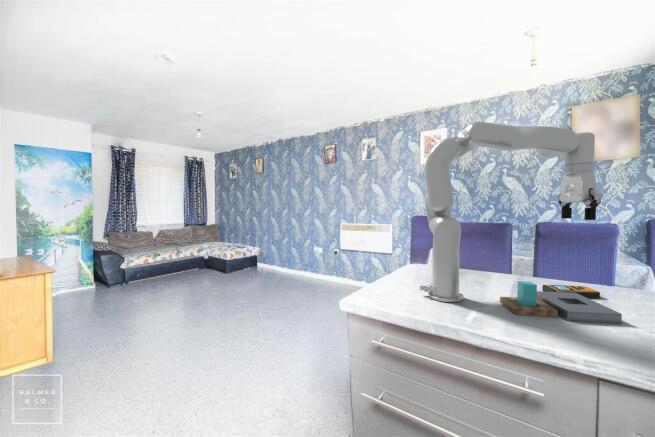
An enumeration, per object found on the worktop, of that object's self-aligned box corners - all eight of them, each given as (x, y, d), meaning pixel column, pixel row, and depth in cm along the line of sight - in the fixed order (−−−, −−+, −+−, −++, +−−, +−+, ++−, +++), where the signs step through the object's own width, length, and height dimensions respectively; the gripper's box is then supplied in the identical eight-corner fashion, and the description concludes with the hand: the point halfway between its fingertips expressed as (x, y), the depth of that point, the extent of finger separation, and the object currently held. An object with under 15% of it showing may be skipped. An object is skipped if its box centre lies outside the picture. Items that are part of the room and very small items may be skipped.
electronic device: (601, 300, 105) (602, 291, 104) (554, 298, 107) (554, 289, 107) (585, 293, 113) (585, 284, 113) (541, 291, 116) (541, 283, 116)
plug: (522, 310, 94) (523, 284, 94) (517, 306, 98) (517, 281, 98) (536, 311, 94) (536, 284, 93) (530, 307, 98) (530, 281, 97)
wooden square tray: (515, 314, 91) (515, 308, 91) (499, 302, 103) (499, 296, 103) (557, 316, 89) (557, 310, 89) (536, 303, 101) (536, 298, 101)
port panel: (567, 321, 86) (567, 311, 86) (532, 299, 105) (532, 291, 105) (621, 323, 83) (621, 313, 83) (575, 300, 103) (575, 292, 103)
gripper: (549, 172, 107) (548, 218, 108) (589, 166, 90) (588, 220, 90) (569, 172, 107) (568, 217, 107) (614, 166, 89) (612, 220, 90)
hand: (577, 219), depth 99 cm, fingers open, 9 cm apart
